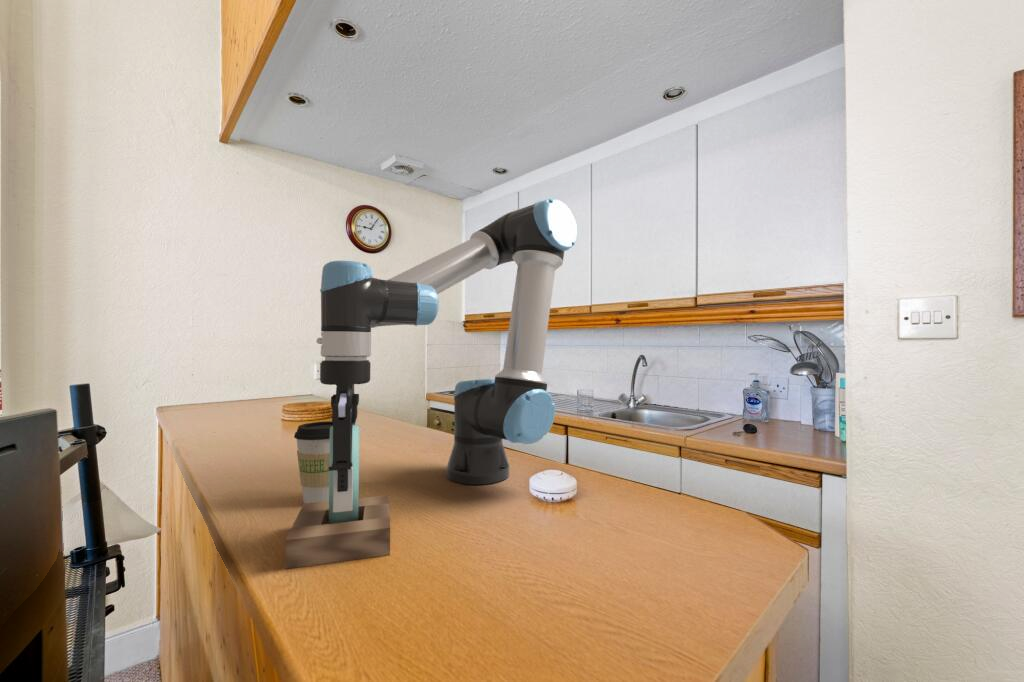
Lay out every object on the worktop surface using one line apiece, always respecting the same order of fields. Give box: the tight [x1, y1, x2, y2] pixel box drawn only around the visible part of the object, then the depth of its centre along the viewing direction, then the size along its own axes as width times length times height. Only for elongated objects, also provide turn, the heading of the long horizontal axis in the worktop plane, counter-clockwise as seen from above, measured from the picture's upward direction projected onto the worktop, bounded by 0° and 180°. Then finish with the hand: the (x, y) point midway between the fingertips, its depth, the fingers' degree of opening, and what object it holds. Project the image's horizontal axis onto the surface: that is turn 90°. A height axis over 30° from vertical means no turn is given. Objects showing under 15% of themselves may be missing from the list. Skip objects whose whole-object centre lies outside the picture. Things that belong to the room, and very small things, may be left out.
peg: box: [329, 424, 360, 524], centre depth 67 cm, size 4×4×16 cm
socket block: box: [284, 495, 391, 570], centre depth 67 cm, size 14×14×4 cm
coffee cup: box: [293, 420, 333, 504], centre depth 84 cm, size 10×10×15 cm
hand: (344, 504), depth 67 cm, fingers closed on peg, 4 cm apart
